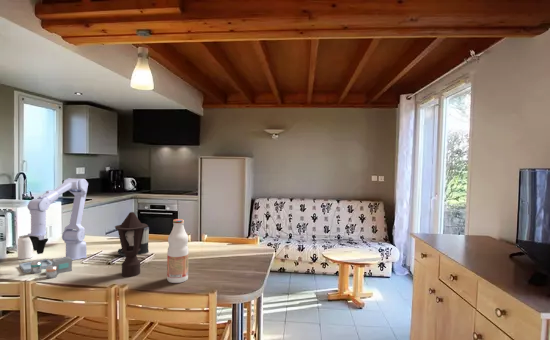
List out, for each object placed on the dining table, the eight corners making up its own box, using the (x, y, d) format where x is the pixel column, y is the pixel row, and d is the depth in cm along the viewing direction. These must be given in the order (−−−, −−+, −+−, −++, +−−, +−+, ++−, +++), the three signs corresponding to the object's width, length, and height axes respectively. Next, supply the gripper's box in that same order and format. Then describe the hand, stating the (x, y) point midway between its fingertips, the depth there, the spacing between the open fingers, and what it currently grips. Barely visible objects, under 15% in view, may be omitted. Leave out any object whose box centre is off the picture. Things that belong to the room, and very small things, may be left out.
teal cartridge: (40, 270, 154) (40, 260, 154) (42, 272, 151) (42, 262, 151) (29, 272, 151) (29, 262, 151) (31, 274, 148) (31, 264, 148)
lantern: (147, 267, 162) (148, 209, 161) (147, 277, 148) (148, 214, 147) (115, 270, 156) (116, 210, 155) (112, 281, 143) (112, 215, 142)
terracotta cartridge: (55, 274, 148) (55, 264, 148) (58, 277, 146) (58, 266, 146) (45, 277, 145) (45, 266, 145) (47, 279, 143) (47, 268, 143)
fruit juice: (173, 285, 140) (174, 222, 139) (163, 279, 146) (164, 219, 145) (192, 279, 147) (193, 220, 146) (181, 274, 153) (182, 217, 152)
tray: (48, 261, 167) (48, 258, 167) (54, 266, 159) (54, 264, 159) (19, 266, 158) (19, 263, 158) (24, 272, 150) (24, 269, 150)
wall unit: (68, 268, 158) (68, 255, 158) (72, 270, 154) (72, 258, 154) (51, 271, 153) (52, 258, 152) (55, 274, 149) (55, 261, 149)
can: (15, 260, 168) (15, 237, 167) (21, 256, 174) (21, 235, 174) (29, 259, 169) (29, 237, 169) (35, 255, 176) (35, 234, 175)
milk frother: (151, 250, 191) (152, 226, 191) (138, 258, 175) (138, 232, 175) (129, 249, 192) (130, 225, 192) (114, 257, 177) (114, 231, 176)
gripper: (25, 222, 152) (25, 250, 153) (31, 227, 142) (31, 257, 143) (42, 220, 157) (42, 247, 158) (49, 225, 148) (49, 253, 148)
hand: (38, 251), depth 151 cm, fingers open, 7 cm apart
